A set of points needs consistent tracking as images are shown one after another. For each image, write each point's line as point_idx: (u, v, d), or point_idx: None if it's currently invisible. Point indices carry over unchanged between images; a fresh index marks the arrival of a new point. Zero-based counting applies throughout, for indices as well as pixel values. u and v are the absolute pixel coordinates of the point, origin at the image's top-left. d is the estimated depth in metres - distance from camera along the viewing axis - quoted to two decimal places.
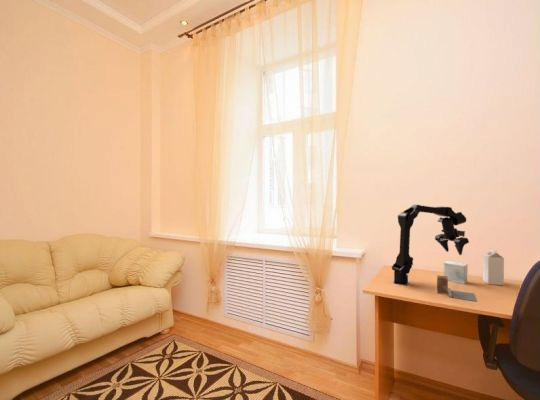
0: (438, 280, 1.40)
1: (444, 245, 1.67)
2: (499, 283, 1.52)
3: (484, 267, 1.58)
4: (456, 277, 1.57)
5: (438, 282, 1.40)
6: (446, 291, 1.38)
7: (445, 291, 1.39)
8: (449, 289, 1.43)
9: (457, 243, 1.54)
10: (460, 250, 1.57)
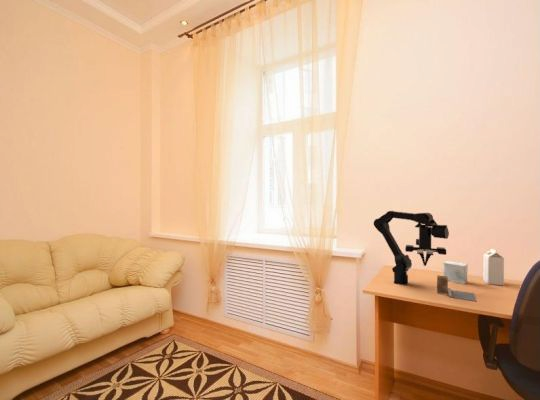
0: (438, 280, 1.40)
1: None
2: (499, 283, 1.52)
3: (484, 267, 1.59)
4: (456, 277, 1.57)
5: (438, 282, 1.40)
6: (446, 291, 1.38)
7: (445, 291, 1.38)
8: (449, 289, 1.43)
9: (442, 252, 1.41)
10: (427, 260, 1.46)
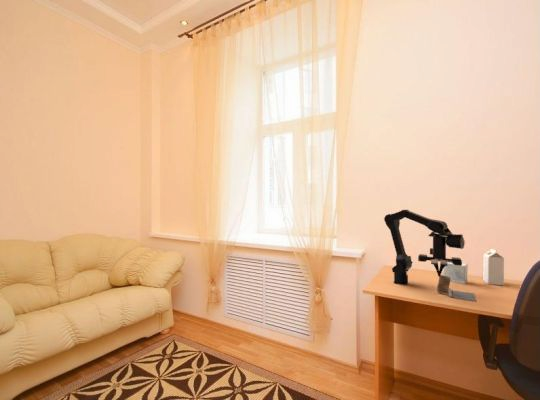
0: (440, 279, 1.39)
1: (438, 268, 1.41)
2: (499, 283, 1.52)
3: (484, 267, 1.59)
4: (456, 277, 1.57)
5: (440, 281, 1.39)
6: (447, 291, 1.38)
7: (445, 291, 1.38)
8: (449, 289, 1.43)
9: (457, 263, 1.35)
10: (441, 271, 1.41)
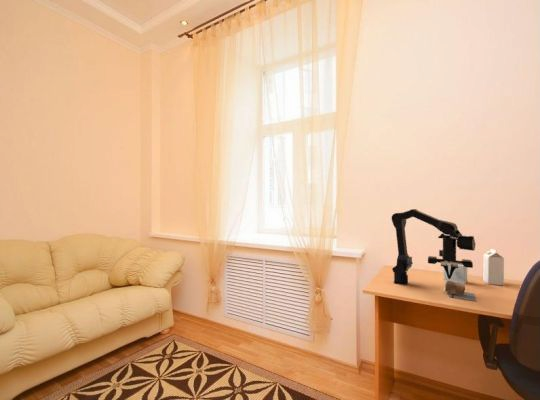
0: (461, 288, 1.35)
1: None
2: (499, 283, 1.52)
3: (484, 267, 1.59)
4: (456, 277, 1.57)
5: (459, 287, 1.36)
6: (448, 291, 1.38)
7: (447, 290, 1.38)
8: None
9: (468, 265, 1.33)
10: None
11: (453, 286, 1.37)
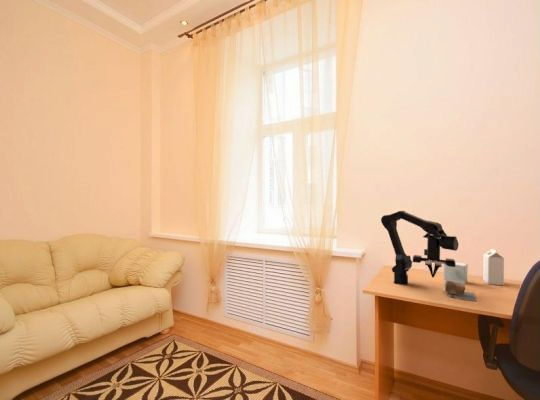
0: (461, 288, 1.35)
1: None
2: (499, 283, 1.52)
3: (484, 267, 1.59)
4: (456, 277, 1.57)
5: (459, 287, 1.36)
6: (448, 291, 1.38)
7: (447, 290, 1.38)
8: None
9: (451, 264, 1.36)
10: (435, 272, 1.42)
11: (453, 286, 1.37)
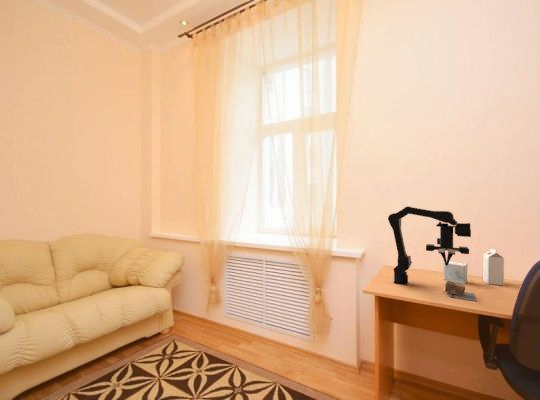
0: (461, 288, 1.35)
1: (445, 257, 1.43)
2: (499, 283, 1.52)
3: (484, 267, 1.59)
4: (456, 277, 1.57)
5: (459, 287, 1.36)
6: (448, 291, 1.38)
7: (447, 290, 1.38)
8: None
9: (465, 252, 1.37)
10: (449, 260, 1.43)
11: (453, 286, 1.37)
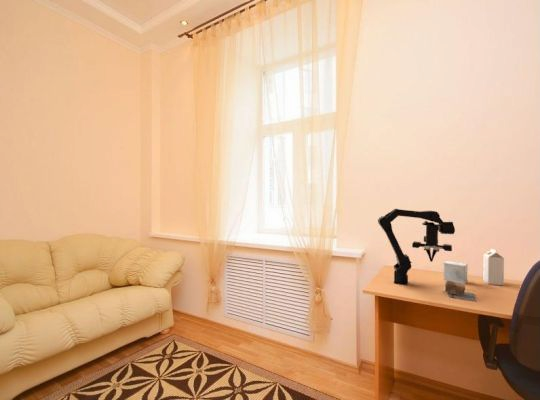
0: (461, 288, 1.35)
1: (430, 254, 1.53)
2: (499, 283, 1.52)
3: (484, 267, 1.59)
4: (456, 277, 1.57)
5: (459, 287, 1.36)
6: (448, 291, 1.38)
7: (447, 290, 1.38)
8: None
9: (447, 249, 1.47)
10: None
11: (453, 286, 1.37)
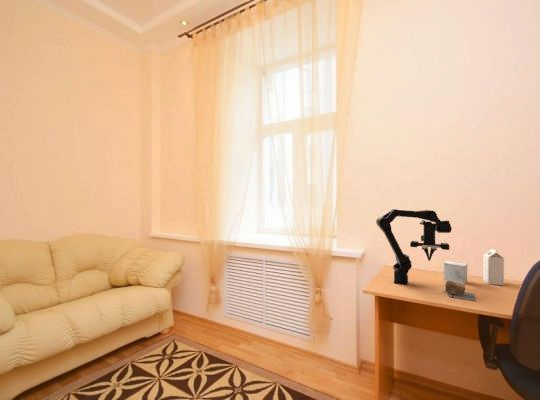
0: (461, 288, 1.35)
1: (428, 253, 1.54)
2: (499, 283, 1.52)
3: (484, 267, 1.59)
4: (456, 277, 1.57)
5: (459, 287, 1.36)
6: (448, 291, 1.38)
7: (447, 290, 1.38)
8: None
9: (445, 248, 1.48)
10: (431, 255, 1.54)
11: (453, 286, 1.37)
